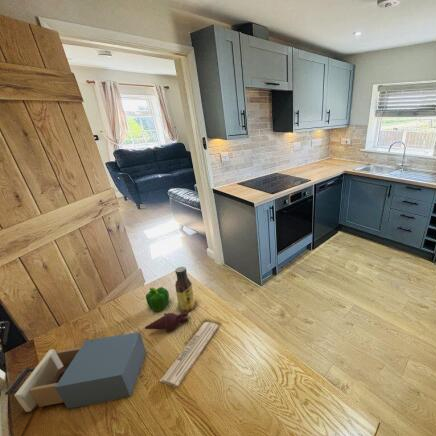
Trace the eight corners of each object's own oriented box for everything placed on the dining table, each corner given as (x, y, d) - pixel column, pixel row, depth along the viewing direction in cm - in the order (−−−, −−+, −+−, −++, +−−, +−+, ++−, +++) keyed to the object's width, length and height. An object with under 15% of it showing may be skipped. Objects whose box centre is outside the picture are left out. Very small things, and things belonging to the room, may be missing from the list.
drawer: (3, 418, 64) (-12, 400, 61) (39, 369, 76) (29, 352, 73) (88, 400, 68) (78, 383, 65) (109, 357, 80) (102, 341, 77)
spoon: (53, 399, 67) (50, 394, 66) (39, 401, 67) (36, 396, 66) (75, 366, 76) (72, 362, 75) (63, 368, 75) (60, 363, 75)
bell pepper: (174, 304, 104) (170, 286, 100) (156, 316, 98) (151, 298, 94) (163, 297, 108) (159, 279, 104) (145, 308, 102) (140, 290, 98)
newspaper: (178, 388, 73) (177, 384, 72) (158, 381, 74) (157, 377, 74) (218, 327, 94) (218, 324, 93) (203, 323, 95) (202, 320, 95)
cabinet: (67, 409, 67) (54, 387, 63) (94, 360, 80) (85, 340, 76) (130, 396, 70) (121, 374, 66) (146, 351, 84) (139, 331, 80)
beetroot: (143, 331, 84) (189, 319, 91) (143, 313, 89) (186, 303, 96) (145, 342, 87) (189, 329, 94) (145, 324, 93) (187, 313, 100)
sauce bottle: (191, 313, 100) (184, 274, 92) (177, 313, 100) (168, 274, 92) (197, 302, 106) (191, 265, 98) (184, 302, 106) (176, 264, 98)
